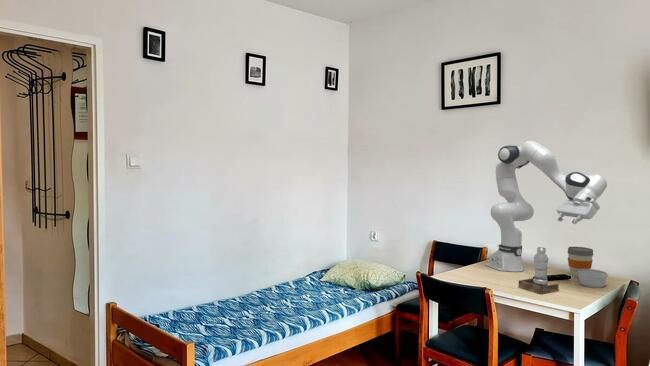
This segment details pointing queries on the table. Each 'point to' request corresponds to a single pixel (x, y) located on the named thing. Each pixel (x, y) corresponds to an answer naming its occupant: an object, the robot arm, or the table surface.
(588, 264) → the reusable coffee cup
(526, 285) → the brown wooden tray
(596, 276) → the ramekin
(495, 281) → the table surface
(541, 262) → the plastic bottle
